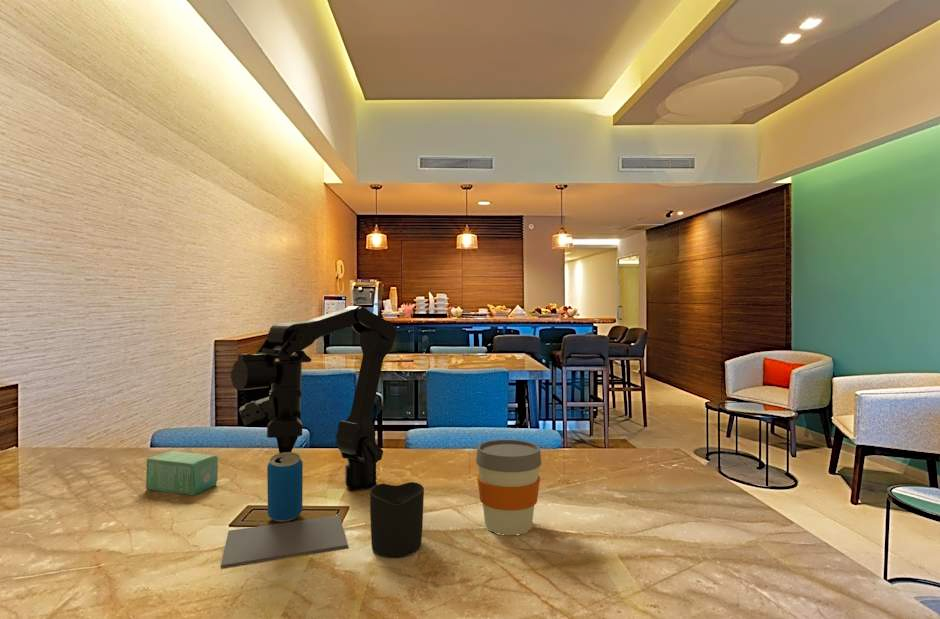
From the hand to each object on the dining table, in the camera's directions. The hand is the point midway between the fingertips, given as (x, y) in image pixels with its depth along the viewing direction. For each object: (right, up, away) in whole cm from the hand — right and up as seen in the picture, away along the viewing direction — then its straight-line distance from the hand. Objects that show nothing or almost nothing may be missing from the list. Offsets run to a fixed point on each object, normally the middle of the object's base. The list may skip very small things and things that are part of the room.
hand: (283, 462), depth 102 cm
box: (-29, -11, +15) cm, 34 cm away
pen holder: (+25, -11, -14) cm, 31 cm away
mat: (+5, -10, -11) cm, 16 cm away
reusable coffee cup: (+45, -11, -5) cm, 47 cm away
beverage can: (+1, -10, -2) cm, 10 cm away
